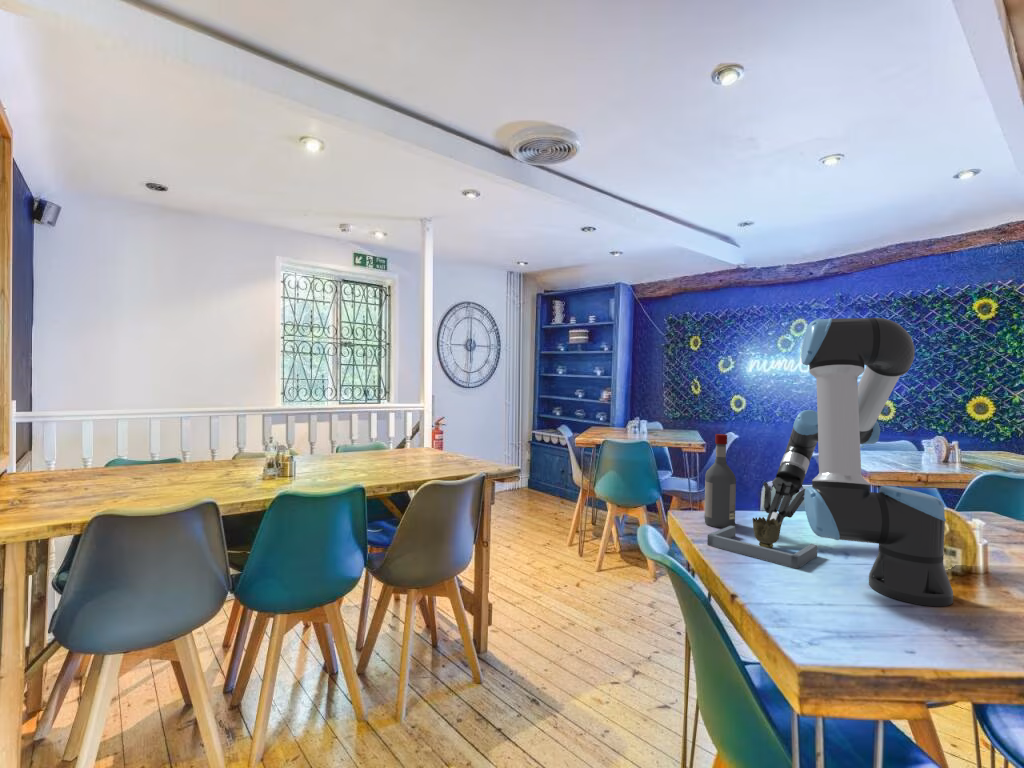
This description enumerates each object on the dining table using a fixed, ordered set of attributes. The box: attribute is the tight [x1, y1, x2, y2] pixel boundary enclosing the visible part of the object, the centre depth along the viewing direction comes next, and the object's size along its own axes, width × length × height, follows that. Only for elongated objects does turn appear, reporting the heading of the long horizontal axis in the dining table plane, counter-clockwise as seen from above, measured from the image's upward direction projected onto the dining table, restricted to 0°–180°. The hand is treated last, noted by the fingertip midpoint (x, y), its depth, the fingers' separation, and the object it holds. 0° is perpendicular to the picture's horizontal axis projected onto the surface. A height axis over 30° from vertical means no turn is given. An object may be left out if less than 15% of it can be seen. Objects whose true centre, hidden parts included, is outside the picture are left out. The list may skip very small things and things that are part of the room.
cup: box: [752, 516, 782, 549], centre depth 145 cm, size 8×7×8 cm
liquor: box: [703, 433, 737, 529], centre depth 169 cm, size 9×9×30 cm
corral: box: [706, 525, 818, 570], centre depth 143 cm, size 24×15×3 cm, turn 42°
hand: (769, 533), depth 148 cm, fingers closed
